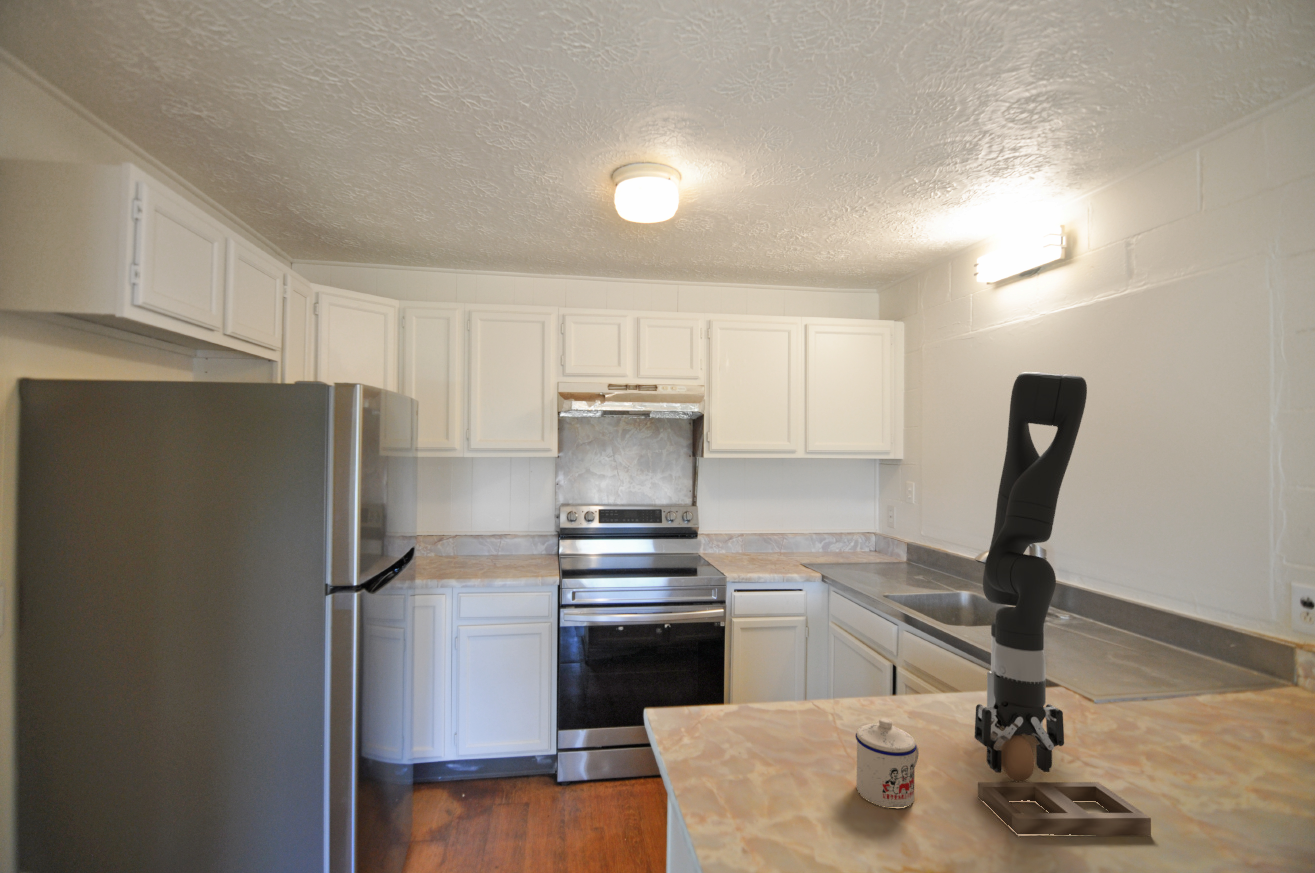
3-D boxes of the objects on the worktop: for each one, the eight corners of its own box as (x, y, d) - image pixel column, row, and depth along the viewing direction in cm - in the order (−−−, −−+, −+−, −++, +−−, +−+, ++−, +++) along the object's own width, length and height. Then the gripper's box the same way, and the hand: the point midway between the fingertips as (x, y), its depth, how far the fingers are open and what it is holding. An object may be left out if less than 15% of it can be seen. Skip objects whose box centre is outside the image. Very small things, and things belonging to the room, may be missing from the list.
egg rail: (1017, 836, 84) (1017, 818, 84) (977, 798, 93) (978, 782, 93) (1151, 835, 85) (1150, 817, 85) (1098, 797, 94) (1098, 781, 95)
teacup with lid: (888, 817, 88) (889, 737, 88) (842, 786, 96) (843, 713, 96) (940, 797, 93) (941, 722, 94) (893, 770, 101) (894, 701, 102)
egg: (1042, 786, 97) (1042, 737, 98) (1017, 790, 96) (1017, 741, 96) (1015, 770, 102) (1015, 724, 103) (991, 774, 101) (991, 727, 101)
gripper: (1043, 664, 104) (1043, 758, 103) (965, 663, 103) (965, 758, 102) (1076, 680, 96) (1076, 781, 96) (992, 679, 95) (992, 782, 95)
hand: (1019, 769), depth 99 cm, fingers open, 8 cm apart
